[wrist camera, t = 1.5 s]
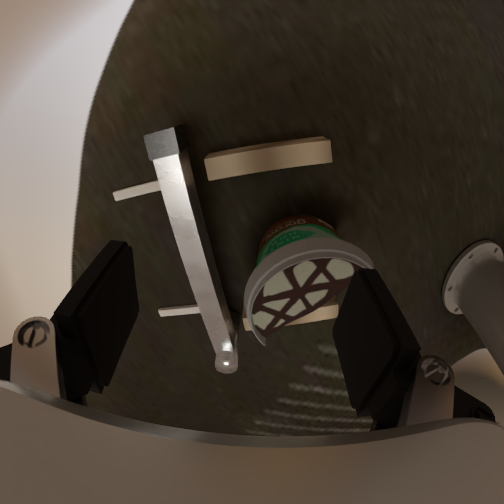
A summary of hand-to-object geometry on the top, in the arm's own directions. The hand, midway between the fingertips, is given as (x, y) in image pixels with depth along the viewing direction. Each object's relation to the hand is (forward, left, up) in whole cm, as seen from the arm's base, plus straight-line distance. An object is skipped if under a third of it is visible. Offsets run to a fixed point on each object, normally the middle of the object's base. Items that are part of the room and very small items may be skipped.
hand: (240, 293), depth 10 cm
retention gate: (+5, +7, -20) cm, 21 cm away
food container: (-2, +8, -20) cm, 22 cm away
